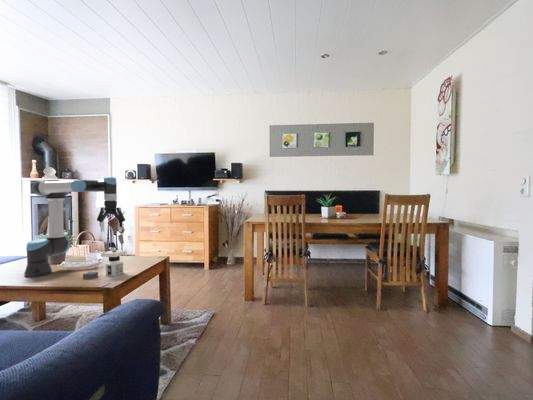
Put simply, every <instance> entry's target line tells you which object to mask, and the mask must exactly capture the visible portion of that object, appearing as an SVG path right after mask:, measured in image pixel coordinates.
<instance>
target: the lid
mask: <svg viewBox="0 0 533 400" xmlns="http://www.w3.org/2000/svg"><path fill="white" fill-rule="evenodd" d="M127 253H128V251H127V250H126V249H125V250H124V249H116V248H111V250H108V251H104V252H101V253H100V257H102V258H105V257H106V258H109V257H118V256H120V257H121V256H123V255H124V256H125V255H126V254H127Z"/></svg>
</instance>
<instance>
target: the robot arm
mask: <svg viewBox="0 0 533 400" xmlns="http://www.w3.org/2000/svg"><path fill="white" fill-rule="evenodd" d="M117 183H118V182H117V178H116V177H113V176H112V177H111V176H110V177H108V176H107V177H105V176H104V178H103V180H99V179H98V180H96V179H95V180H93V179H74V180H61V179H39V180H36V181H34V182H33V183H32V186H31V189H32V192H33V193H34V194H35V195H37V196H40V197H45V200H47V201H48V235H47V236H46V238H39V239H32V240H30V241H28V242H27V244H26V267H25V270H24V275H23V276H24V277H25V276H27V277H26V278H33V277H32V276H37V277H42V276H47V275H50V274H52V273H53V269H52V267H51V264H50V261H49V257H52V256H59V255H62V254H65V253H67V252H68V251H69V250H70V248H71V241H70V239H69V238H68V237H67V235H66V234H65V233H64V201H65V199H66V196H68V194H69V193H81V192H84V193H85V192H91V193H92V192H93V193H94V192H95V193H96V192H98V193H99V192H103V196H104V198H103V199H104V202H103V203H104V205H103V207H101V206H100V211H99V214H98V215H97V217H96V222H99V227H100V233H101V232H102V233H103V232H105V219H106V218H107V217H108V215H113V216H114V217H115V219H116V220H117V221H118V222H117V232H118V233H123V231H122V230H123V229H122V228H123V224H124V223H123V222H126V219H125V216H124V214H123V212H122V208H121V207H117V206H118V205H117V204H118V201H117V200H118V195H117V187H118V186H117V185H118V184H117Z"/></svg>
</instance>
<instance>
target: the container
mask: <svg viewBox="0 0 533 400" xmlns="http://www.w3.org/2000/svg"><path fill="white" fill-rule="evenodd" d="M123 273H124V261H121V256H118V257H108V263H105V275H106V276H108V277H109V276H111V277H117V276H119V275H121V274H123Z"/></svg>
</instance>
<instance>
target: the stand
mask: <svg viewBox="0 0 533 400" xmlns="http://www.w3.org/2000/svg"><path fill="white" fill-rule="evenodd" d="M97 277H99V272H98V271H89V272H84V273H82V280H92V279H95V278H97Z"/></svg>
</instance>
